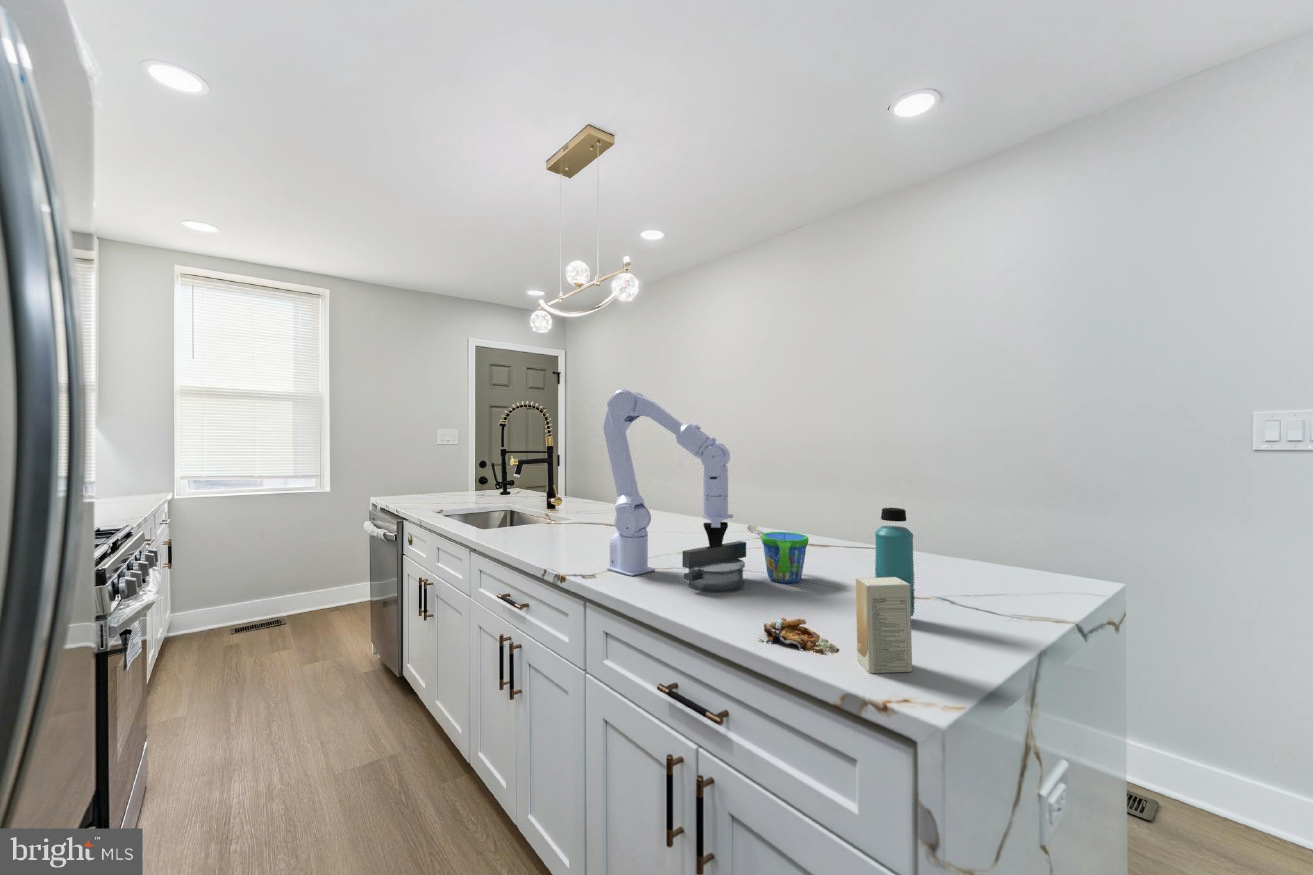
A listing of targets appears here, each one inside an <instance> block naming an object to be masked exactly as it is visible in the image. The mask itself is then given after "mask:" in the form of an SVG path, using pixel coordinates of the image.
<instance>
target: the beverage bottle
mask: <svg viewBox="0 0 1313 875" xmlns="http://www.w3.org/2000/svg"><path fill="white" fill-rule="evenodd" d="M906 512H907V511H906V509H904V508H900V507H884V508H882V509H881V514H880V515H881V516H880V519H881V520H882V521H886V522H906V521H907V513H906ZM874 537H875V561H874V564H875V565H874V575H875V578H879V577H897V578H899V579H901V580H903V581H904V582H906V583H908V584H910V602H911V617H913V616H914V613H915V608H916V606H915V605H916V602H915V601H916V600H915V599H916V594H915V592H916V588H915V587H914V586H915V581H916V579H915V575H916V574H915V562H914V534H913V533H912V531H910V530H909V529H908V528H907V527H905V526H899V525H883V526H880V527H879V528H878V529H877V530H875V532H874Z"/></svg>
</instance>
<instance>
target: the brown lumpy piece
mask: <svg viewBox="0 0 1313 875" xmlns="http://www.w3.org/2000/svg"><path fill="white" fill-rule="evenodd" d="M762 624H763V631H764V633H765V634H766V638H767V640H765V641H766V642H765V641H764V640H763V639H761V638H757V642H759V643H764V642H765V644H769V645H770V644H771V645H773V639H774V638H775V639H776V638H778V639H779V640H780V642H783V643H784V644H794V645H796V646H797V647H798V649H799V650H800V649H804V650H805V649H806V650H808V651H810V650H811V651H813V652H812V653H814V652H815V654H818V653H821V654H820V655H822V653H824V654H828V653H834V654H836V653H837V651H838V649H839V648H838V647H837V646H836V644H833V643H832V642H831V641H830V640H828V639H827V638H826V637H823V636H822V637H820V634H818V633H817V632H815V631H813V630H811V629H809V628H808V627H807V628H806V627H805V626H801V625H806V624H807V620H806V618H802V619H801V618H793V619H789V620H788V619H787V618H785V617H782V618H780V619H778V618H777V619H776V621H772V622H771V623H769V624H768V623H762ZM770 642H771V643H770ZM814 650H815V651H814ZM811 651H810V652H811Z"/></svg>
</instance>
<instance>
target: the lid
mask: <svg viewBox="0 0 1313 875" xmlns="http://www.w3.org/2000/svg"><path fill="white" fill-rule="evenodd" d="M746 557H747V542H746V541H742V540H741V541H740V540H737V541H733V542H726V543H722V544H720V545H714V546H709V545H708V546H703V547H697V548H692V549H686V550H682V563H681V564H682V568H686V569H688V570H689V569H690V568H691V569H694V570H699V571H705V572H733V571H738V570H741V569H743V570H744V568H745V567H744V562H745V561H744V560H743V558H746Z"/></svg>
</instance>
